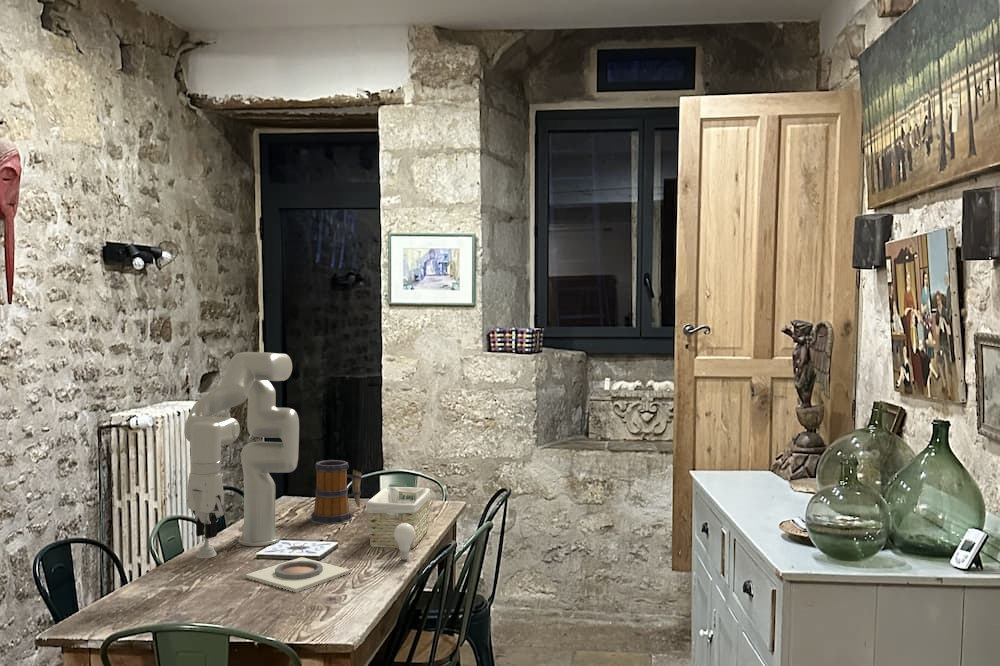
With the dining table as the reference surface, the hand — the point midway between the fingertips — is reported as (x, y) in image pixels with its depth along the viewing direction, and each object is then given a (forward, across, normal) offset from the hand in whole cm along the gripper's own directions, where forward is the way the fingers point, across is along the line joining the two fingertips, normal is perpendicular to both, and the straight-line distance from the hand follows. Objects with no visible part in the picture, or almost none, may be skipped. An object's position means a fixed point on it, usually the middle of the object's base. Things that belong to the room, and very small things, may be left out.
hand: (206, 535), depth 218 cm
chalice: (+5, 0, 0) cm, 5 cm away
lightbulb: (+14, +29, +47) cm, 57 cm away
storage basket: (+15, +12, +63) cm, 66 cm away
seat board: (+13, +15, +19) cm, 27 cm away
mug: (+15, -23, +71) cm, 76 cm away
